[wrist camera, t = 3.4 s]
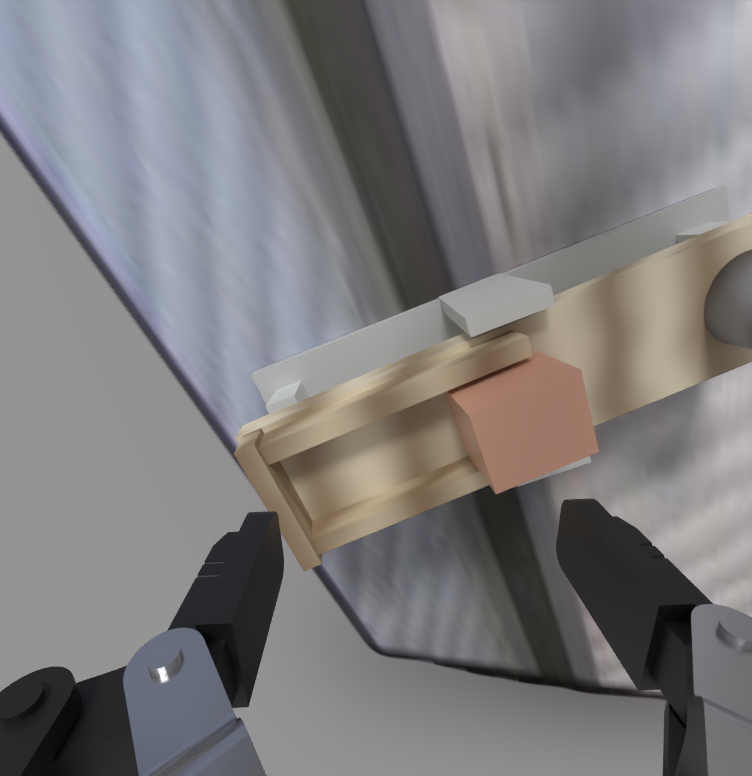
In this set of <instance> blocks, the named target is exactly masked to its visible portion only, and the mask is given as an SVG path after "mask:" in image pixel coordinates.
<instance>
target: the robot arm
mask: <svg viewBox="0 0 752 776" xmlns="http://www.w3.org/2000/svg"><path fill="white" fill-rule="evenodd" d="M556 551H557V557H558V561H559V564H560V566H561V568H562V570H563V572H564V573H565V575H566V577H567V578H568V580H569V581H570V583H571V584H572V586H573V588H574V589H575V591H576V592H577V594H578V596H579V597H580V599H581V600H582V602H583V603H584V605H585V607H586V608H587V610H588V611H589V613H590V615H591V616H592V618H593V619H594V621H595V622H596V624H597V626H598V627H599V629H600V630H601V632H602V634H603V635H604V637H605V638H606V640H607V641H608V643H609V645H610V646H611V648H612V649H613V651H614V653H615V654H616V656H617V657H618V659H619V660H620V662H621V664H622V665H623V667H624V668H625V670H626V672H627V673H628V675H629V676H630V678H631V679H632V681H633V683H634V684H635V686H636V687H637V689H638V690H659V689H660V690H661V691H662V693H663V694H664V696H665V697H666V698H667V702H666V706H665V711H664V749H663V776H752V617H750V616H748V615H746V614H744V613H742V612H740V611H737V610H735V609H732V608H729V607H726V606H721V605H716V604H713V603H712V602H711V601H710V600H709V599H708V598H707V597H706V596H705V595H704V594H703V593H702V592H701V591H700V590H699V589H698V588H697V587H696V586H695V585H694V584H693V583H692V582H691V581H690V580H688V579H687V578H686V577H685V576H684V575H683V574H682V573H681V572H680V571H679V570H678V569H677V568H676V567H675V566H674V565H673V564H672V563H671V562H670V561H669V560H668V559H665V558H664V555H663V554H662V553H661V552H660V551H659V550H658V549H657V548H656V547H655V546H652V543H651V542H650V541H649V540H648V539H647V538H646V537H645V536H644V535H643V534H642V533H641V532H640V531H639V530H638V529H637V528H635V527H634V526H632V525H630V524H629V523H627V522H625V521H624V520H622V519H620V518H619V517H617V516H616V517H612V516H611V515H610V514H609V513H608V512H607V511H606V510H605V509H604V508H603V506H602V505H601V504H600V503H599V502H598V501H597V500H595V499H572V500H564V501H563V503H562V506H561V513H560V521H559V528H558V536H557V543H556ZM283 571H284V556H283V548H282V541H281V533H280V525H279V518H278V514H277V512H276V511H270V512H249V513H248V514H247V516H246V518H245V520H244V522H243V524H242V526H241V528H240V531H239V532H228V533H227V534H226V535H225V536H223V537H222V538H221V539H220V540H219V541H218V542H217V543H216V544H215V545H214V546H213V547H212V549H211V551H210V553H209V555H208V556H207V558H206V560H205V564H204V565H203V566H202V568H201V569H200V571H199V573H198V577H197V578H196V579H195V581H194V582H193V584H192V586H191V588H190V590H189V592H188V594H187V596H186V597H185V599H184V601H183V603H182V605H181V606H180V608H179V610H178V612H177V614H176V616H175V618H174V619H173V621H172V623H171V625H170V627H169V629H168V630H167V631H166V632H163V633H161V634H159V635H157V636H156V637H154V638H152V639H151V640H149V641H148V642H147V643H146V644H144V645H143V646H142V647H141V648H140V649H139V650H138V651H137V652H136V653H135V654H134V656H133V657H132V658H131V660H130V662H129V663H128V665H127V666H125V667H122V668H119V669H117V670H114V671H111V672H108V673H105V674H102V675H99V676H96V677H93V678H90V679H87V680H84V681H81V682H78V683H76V682H75V679H74V677H73V675H72V673H71V672H70V671H69V670H68V669H66V668H64V667H48V668H44V669H40V670H37V671H35V672H32V673H30V674H28V675H26V676H24V677H22V678H20V679H18V680H17V681H15V682H13V683H12V684H10V685H9V686H8V687H6V688H5V689H4V690H2V691H1V692H0V776H266V774H265V771H264V769H263V767H262V765H261V762H260V760H259V757H258V755H257V753H256V750H255V748H254V745H253V743H252V741H251V738H250V736H249V734H248V732H247V729H246V727H245V725H244V723H243V721H242V720H241V718H238V719H237V717H236V715H235V713H234V711H233V708H238V707H248V706H249V703H250V699H251V695H252V692H253V688H254V684H255V680H256V677H257V673H258V669H259V665H260V662H261V658H262V654H263V650H264V646H265V643H266V639H267V635H268V632H269V628H270V624H271V620H272V616H273V612H274V609H275V605H276V601H277V598H278V593H279V590H280V586H281V582H282V578H283Z"/></svg>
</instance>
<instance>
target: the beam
mask: <svg viewBox="0 0 752 776" xmlns="http://www.w3.org/2000/svg"><path fill="white" fill-rule="evenodd" d="M554 300H555V306H552V307H550V308H547V309H544V310H542V311H539V312H536V313H534V314H531V315H529V316H526V317H523V318H521V319H518V320H515V321H513V322H510V323H508V324H505V325H502V326H500V327H497V328H494V329H492V330H489V331H487V332H484V333H481V334H479V335H476V336H473V337H470V336H469V335H468V334H467V333H466V332H465V333H463V334H460V335H458V336H456V337H453V338H451V339H448V340H446V341H444V342H441V343H439V344H436V345H434V346H432V347H429V348H427V349H424V350H422V351H420V352H417V353H415V354H412V355H410V356H408V357H405V358H403V359H400V360H398V361H396V362H393V363H391V364H388V365H386V366H384V367H381V368H379V369H377V370H374V371H372V372H369V373H367V374H365V375H362V376H360V377H357V378H355V379H353V380H350V381H348V382H345V383H343V384H341V385H338V386H336V387H333V388H331V389H329V390H326V391H324V392H321V393H319V394H317V395H314V396H312V397H309V398H307V399H305V400H302V401H300V402H297V403H295V404H293V405H290V406H288V407H285V408H283V409H281V410H278V411H276V412H273V413H271V414H269V415H266V416H264V417H261V418H259V419H257V420H254V421H252V422H249V423H247V424H245V425H242V427H241V429H240V431H239V433H238V435H237V437H236V440H237V442H238V444H239V445H238V447H237V449H236V451H235V453H234V455H235V456H236V458H237V460H238V461H239V463H240V465H241V466H242V468H243V470H244V471H245V473H246V475H247V476H248V478H249V480H250V482H251V483H252V485H253V487H254V488H255V490H256V492H257V493H258V495H259V497H260V498H261V500H262V502H263V503H264V505H265V507H266V508H267V510H268V512H270V511H276V512H277V514H278V518H279V525H280V532H281V533H282V535H283V537H284V538H285V540H286V542H287V544H288V545H289V547H290V549H291V550H292V552H293V553H294V555H295V557H296V559H297V560H298V562H299V564H300V565H301V567H302V569H303V570H304V571H306V570H308V569H311V568H313V567H316V566H318V565H321V564H322V553H325V552H327V551H330V550H332V549H335V548H337V547H339V546H342V545H344V544H347V543H349V542H352V541H354V540H357V539H359V538H361V537H364V536H366V535H369V534H371V533H374V532H376V531H378V530H381V529H383V528H386V527H388V526H391V525H393V524H395V523H398V522H400V521H403V520H405V519H408V518H410V517H413V516H415V515H417V514H420V513H422V512H425V511H427V510H430V509H432V508H434V507H437V506H439V505H442V504H444V503H447V502H449V501H451V500H454V499H456V498H459V497H461V496H464V495H466V494H469V493H471V492H473V491H476V490H478V489H481V488H483V487H486V486H488V485H489V484H488V483H487V481H486V480H485V478H484V477H483V476H482V474H481V473H480V471H479V470H478V469H477V467H476V466H475V464H474V463H473V462H472V460H471V459H470V457H469V456H468V455H467V453H466V452H465V449H464V446H463V443H462V441H461V438H460V435H459V432H458V429H457V427H456V424H455V421H454V418H453V416H452V413H451V410H450V407H449V404H448V402H447V399H446V396H445V393H444V392H446V391H449V390H451V389H453V388H456V387H458V386H461V385H463V384H466V383H468V382H470V381H473V380H475V379H478V378H480V377H482V376H485V375H487V374H490V373H492V372H494V371H497V370H499V369H502V368H504V367H506V366H509V365H511V364H514V363H516V362H518V361H521V360H523V359H526V358H528V357H531V356H533V353H532V349H534V350H537V351H539V352H541V353H544V354H546V355H548V356H551V357H553V358H555V359H558V360H560V361H562V362H564V363H567V364H569V365H571V366H574V367H576V368H578V369H581V371H582V376H583V380H584V385H585V389H586V394H587V398H588V403H589V407H590V412H591V416H592V421H593V425H594V426H596V425H599V424H601V423H604V422H606V421H609V420H611V419H614V418H616V417H618V416H621V415H623V414H626V413H628V412H631V411H633V410H635V409H638V408H640V407H643V406H645V405H648V404H650V403H652V402H655V401H657V400H660V399H662V398H665V397H667V396H669V395H672V394H674V393H677V392H679V391H682V390H684V389H686V388H689V387H691V386H694V385H696V384H699V383H701V382H703V381H706V380H708V379H711V378H713V377H716V376H718V375H720V374H723V373H725V372H728V371H730V370H733V369H735V368H737V367H740V366H742V365H745V364H747V363H750V362H752V213H750V214H748V215H746V216H743V217H741V218H738V219H736V220H734V221H731V222H729V223H726V224H724V225H722V226H719V227H717V228H714V229H712V230H710V231H707V232H705V233H702V234H700V235H698V236H695V237H693V238H690V239H688V240H686V241H683V242H681V243H678V244H676V245H674V246H671V247H669V248H666V249H664V250H662V251H659V252H657V253H654V254H652V255H650V256H647V257H645V258H643V259H640V260H638V261H635V262H633V263H631V264H628V265H626V266H623V267H621V268H619V269H616V270H614V271H611V272H609V273H607V274H604V275H602V276H599V277H597V278H595V279H592V280H590V281H587V282H585V283H583V284H580V285H578V286H575V287H573V288H571V289H568V290H566V291H563V292H561V293H559V294H556V295H554Z"/></svg>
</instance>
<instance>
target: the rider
mask: <svg viewBox="0 0 752 776" xmlns="http://www.w3.org/2000/svg"><path fill="white" fill-rule="evenodd" d="M532 353H533V356H531V357H528V358H526V359H523V360H521V361H518V362H516V363H514V364H511V365H509V366H506V367H504V368H502V369H499V370H497V371H494V372H492V373H490V374H487V375H485V376H482V377H480V378H478V379H475V380H473V381H470V382H468V383H466V384H463V385H461V386H458V387H456V388H453V389H451V390H449V391H446V392H444V393H445V396H446V399H447V402H448V404H449V407H450V410H451V413H452V416H453V418H454V421H455V424H456V427H457V429H458V432H459V435H460V438H461V441H462V443H463V446H464V449H465V452H466V453H467V455H468V456H469V457H470V459H471V460H472V462H473V463H474V464H475V466H476V467H477V469H478V470H479V471H480V473H481V474H482V476H483V477H484V478H485V480H486V481H487V483H488V484H489V485H490V487H491V488H492V490H493V491H494V492H495V494H498V493H501V492H503V491H505V490H508V489H510V488H513V487H515V486H518V485H520V484H523V483H525V482H527V481H530V480H532V479H535V478H537V477H540V476H542V475H544V474H547V473H549V472H552V471H554V470H557V469H559V468H562V467H564V466H566V465H569V464H571V463H574V462H576V461H579V460H581V459H583V458H586V457H588V456H591V455H593V454H596V453H598V452H599V448H598V444H597V439H596V435H595V430H594V425H593V421H592V416H591V412H590V407H589V403H588V398H587V394H586V389H585V385H584V380H583V376H582V371H581V369H578V368H576V367H574V366H571V365H569V364H567V363H564V362H562V361H560V360H558V359H555V358H553V357H551V356H548V355H546V354H544V353H541V352H539V351H537V350H534V349H532Z"/></svg>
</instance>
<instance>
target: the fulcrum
mask: <svg viewBox="0 0 752 776" xmlns="http://www.w3.org/2000/svg"><path fill="white" fill-rule="evenodd" d="M729 222H731V221H728V208H727V194H726V187H721V188H715V189H712V190H710V191H707V192H705V193H702V194H700V195H697V196H695V197H692V198H689V199H687V200H684V201H682V202H679V203H677V204H674V205H672V206H669V207H667V208H664V209H662V210H659V211H657V212H654V213H652V214H649V215H647V216H644V217H642V218H639V219H637V220H634V221H632V222H629V223H627V224H624V225H621V226H619V227H616V228H614V229H611V230H609V231H606V232H604V233H601V234H599V235H596V236H594V237H591V238H589V239H586V240H584V241H581V242H579V243H576V244H574V245H571V246H569V247H566V248H564V249H561V250H558V251H556V252H553V253H551V254H548V255H546V256H543V257H541V258H538V259H536V260H533V261H531V262H528V263H526V264H523V265H521V266H518V267H516V268H513V269H511V270H508V271H506V272H503V273H501V274H500V273H497V274H495V275H492V276H490V277H487V278H485V279H482V280H479V281H477V282H474V283H472V284H469V285H467V286H464V287H462V288H459V289H457V290H454V291H452V292H449V293H447V294H444V295H442V296H439V297H438V299H435V300H433V301H430V302H427V303H425V304H422V305H420V306H417V307H415V308H412V309H410V310H407V311H405V312H402V313H400V314H397V315H395V316H392V317H390V318H387V319H385V320H382V321H380V322H377V323H375V324H372V325H370V326H367V327H365V328H362V329H359V330H357V331H354V332H352V333H349V334H347V335H344V336H342V337H339V338H337V339H334V340H332V341H329V342H327V343H324V344H322V345H319V346H317V347H314V348H312V349H309V350H307V351H304V352H302V353H299V354H296V355H294V356H291V357H289V358H286V359H284V360H281V361H279V362H276V363H274V364H271V365H269V366H266V367H264V368H261V369H259V370H256V371H254V372H253V373H252V374H251V375H250V376H251V377H252V379H253V381H254V383H255V385H256V387H257V389H258V390H259V392H260V394H261V396H262V398H263V400H264V402H265V403H266V406H265V407H266V409H267V411H268V412H269V414H271V413H273V412H276V411H278V410H281V409H283V408H285V407H288V406H290V405H293V404H295V403H297V402H300V401H302V400H305V399H307V398H309V397H312V396H314V395H317V394H319V393H321V392H324V391H326V390H329V389H331V388H333V387H336V386H338V385H341V384H343V383H345V382H348V381H350V380H353V379H355V378H357V377H360V376H362V375H365V374H367V373H369V372H372V371H374V370H377V369H379V368H381V367H384V366H386V365H388V364H391V363H393V362H396V361H398V360H400V359H403V358H405V357H408V356H410V355H412V354H415V353H417V352H420V351H422V350H424V349H427V348H429V347H432V346H434V345H436V344H439V343H441V342H444V341H446V340H448V339H451V338H453V337H456V336H458V335H460V334H463V333H465V332H466V333H467V334H468V335H469V336H470V337H473V336H476V335H479V334H481V333H484V332H487V331H489V330H492V329H494V328H497V327H500V326H502V325H505V324H508V323H510V322H513V321H515V320H518V319H521V318H523V317H526V316H529V315H531V314H534V313H536V312H539V311H542V310H544V309H547V308H550V307H552V306H555V300H554V295H556V294H559V293H561V292H563V291H566V290H568V289H571V288H573V287H575V286H578V285H580V284H583V283H585V282H587V281H590V280H592V279H595V278H597V277H599V276H602V275H604V274H607V273H609V272H611V271H614V270H616V269H619V268H621V267H623V266H626V265H628V264H631V263H633V262H635V261H638V260H640V259H643V258H645V257H647V256H650V255H652V254H654V253H657V252H659V251H662V250H664V249H666V248H669V247H671V246H674V245H676V244H678V243H681V242H683V241H686V240H688V239H690V238H693V237H695V236H698V235H700V234H702V233H705V232H707V231H710V230H712V229H714V228H717V227H719V226H722V225H724V224H726V223H729ZM591 462H592V460H591V456H588V457H586V458H583V459H581V460H579V461H576V462H574V463H571V464H569V465H566V466H564V467H562V468H559V469H557V470H554V471H552V472H549V473H547V474H544V475H542V476H540V477H537V478H535V479H532V480H530V481H527V482H525V483H523V484H520V485H518V487H519V486H522V485H525V484H528V483H531V482H534V481H537V480H540V479H543V478H546V477H549V476H552V475H555V474H558V473H561V472H564V471H567V470H570V469H573V468H576V467H579V466H582V465H585V464H588V463H591Z"/></svg>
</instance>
